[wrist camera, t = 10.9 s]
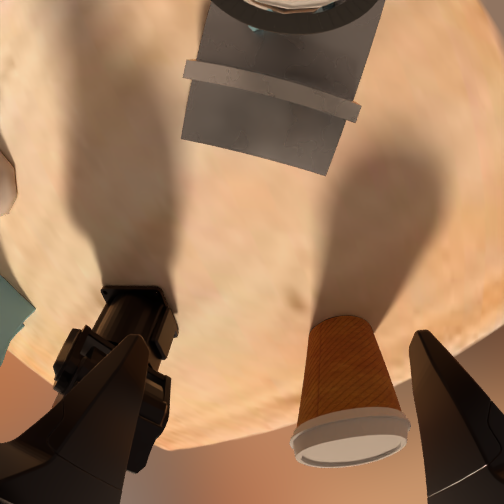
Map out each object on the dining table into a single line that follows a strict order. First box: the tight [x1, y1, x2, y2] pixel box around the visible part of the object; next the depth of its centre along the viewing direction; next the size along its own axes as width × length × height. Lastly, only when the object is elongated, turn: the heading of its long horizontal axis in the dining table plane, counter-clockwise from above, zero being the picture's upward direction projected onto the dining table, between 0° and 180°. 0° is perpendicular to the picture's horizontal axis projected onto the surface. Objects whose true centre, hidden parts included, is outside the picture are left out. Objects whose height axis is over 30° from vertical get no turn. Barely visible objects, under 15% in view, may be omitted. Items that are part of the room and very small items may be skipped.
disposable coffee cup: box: [290, 316, 411, 468], centre depth 24 cm, size 10×10×12 cm
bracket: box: [181, 0, 385, 176], centre depth 13 cm, size 16×9×3 cm, turn 167°
